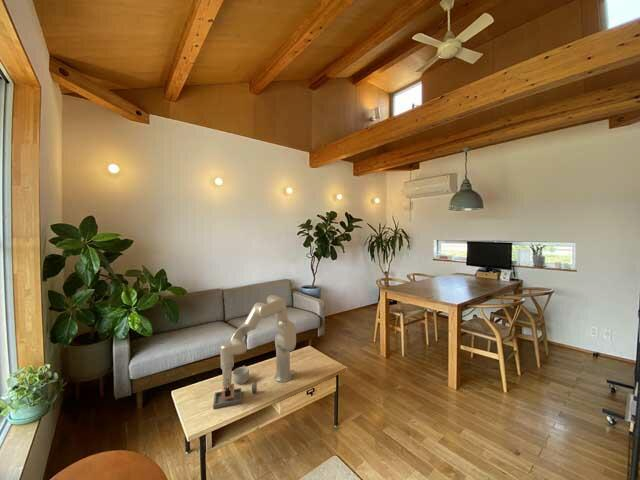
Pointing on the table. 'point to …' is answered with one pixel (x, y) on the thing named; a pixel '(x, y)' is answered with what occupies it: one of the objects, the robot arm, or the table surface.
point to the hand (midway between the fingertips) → (228, 392)
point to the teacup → (241, 375)
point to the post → (254, 387)
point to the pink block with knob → (231, 392)
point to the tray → (227, 402)
